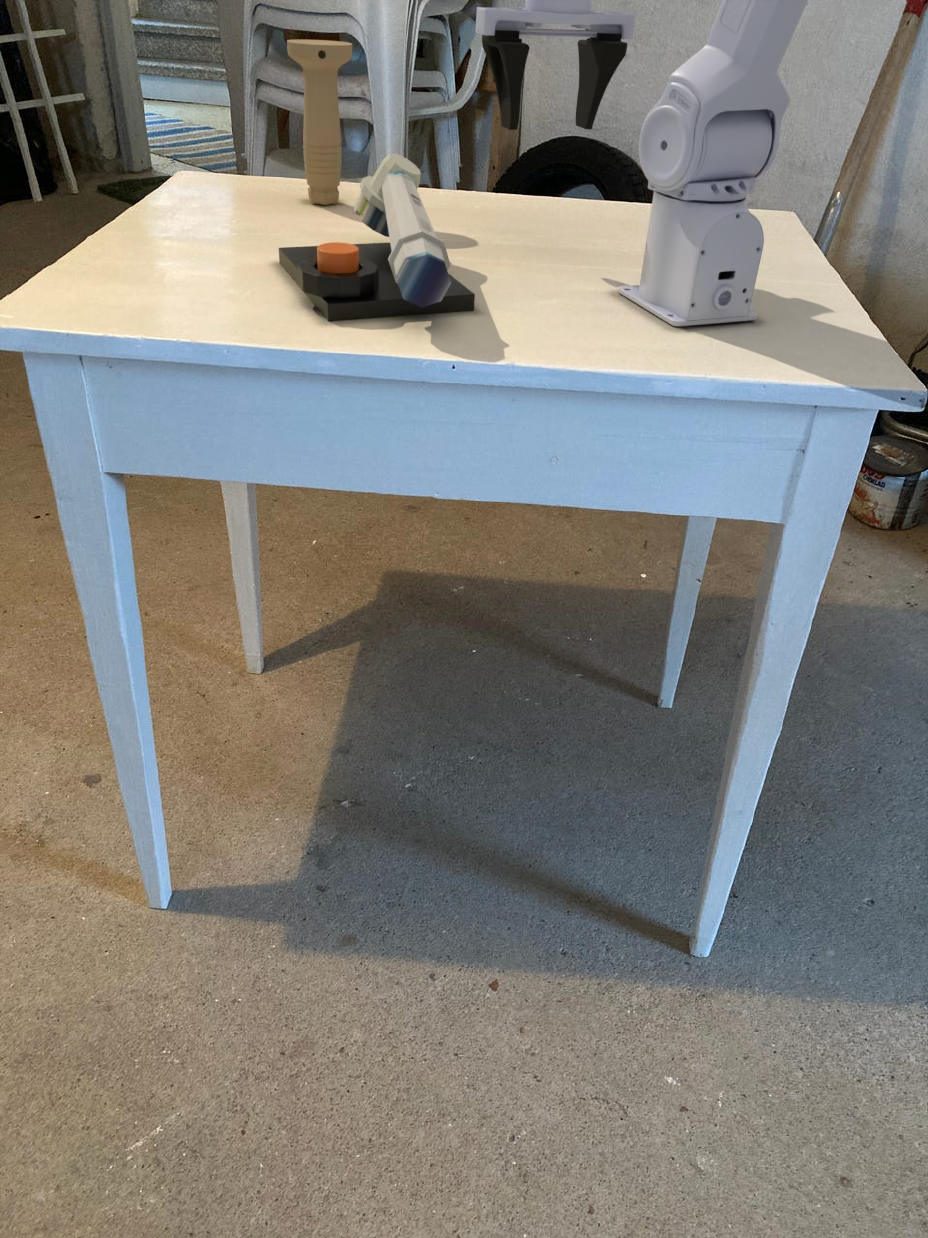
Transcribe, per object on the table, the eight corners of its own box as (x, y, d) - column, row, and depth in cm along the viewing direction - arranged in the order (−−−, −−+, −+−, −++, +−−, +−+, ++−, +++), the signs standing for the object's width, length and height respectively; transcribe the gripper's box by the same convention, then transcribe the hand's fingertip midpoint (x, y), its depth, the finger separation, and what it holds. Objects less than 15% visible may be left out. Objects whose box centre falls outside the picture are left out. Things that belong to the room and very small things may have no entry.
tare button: (364, 275, 76) (364, 251, 75) (323, 277, 75) (323, 254, 74) (352, 263, 79) (352, 241, 78) (313, 265, 78) (312, 242, 77)
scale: (474, 311, 79) (476, 273, 77) (314, 323, 74) (313, 283, 73) (408, 257, 91) (408, 222, 89) (267, 264, 86) (265, 228, 85)
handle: (292, 196, 108) (285, 38, 99) (351, 197, 109) (349, 40, 100) (295, 207, 104) (288, 43, 95) (356, 207, 105) (354, 46, 97)
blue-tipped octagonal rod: (405, 238, 69) (381, 126, 87) (364, 319, 73) (349, 195, 91) (469, 270, 72) (432, 154, 90) (426, 347, 75) (399, 220, 93)
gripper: (615, -48, 89) (595, 119, 96) (466, -58, 84) (458, 120, 91) (656, -45, 83) (631, 132, 91) (499, -54, 78) (487, 133, 86)
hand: (546, 127), depth 91 cm, fingers open, 7 cm apart
